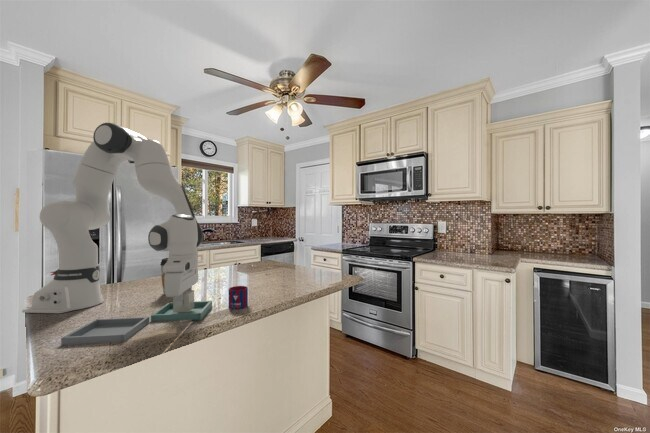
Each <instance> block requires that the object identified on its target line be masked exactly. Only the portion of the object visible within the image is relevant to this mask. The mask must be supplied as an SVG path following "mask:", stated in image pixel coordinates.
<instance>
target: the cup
mask: <svg viewBox="0 0 650 433" xmlns="http://www.w3.org/2000/svg"><path fill="white" fill-rule="evenodd" d="M248 291H249V289H248V286H245V285H235V286H231V287H229V288H228V309H231V310H242V309H245V308H248V306H249V304H248V301H249V300H248V299H249V298H248V295H249V294H248Z"/></svg>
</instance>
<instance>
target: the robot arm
mask: <svg viewBox="0 0 650 433" xmlns="http://www.w3.org/2000/svg"><path fill="white" fill-rule="evenodd" d="M92 139H93V140H92V142H91V143H90V145H89V146H88V147H87V149H86V150H85V152H84V153H83V156H82V158H81V160H80V161H79V165H78V166H77V169H76V171H75V173H74V176H73V179H72V185H73V187H74V188H75V191H76V192H75V193H76V195H75V200H61V201H55V202H51V203H48V204H46V205H45V206H44V207H42V209H41V210H40V212H39V220H40V222H41V224H42V226H44V227H45V228H46V229H47V230H49V231H50V233H51V234H52V236H53V238H54V240H55V244H56V245H57V250H58V251H57V252H58V267H59V268H58V269H57V270H55V271H51V272H50V276H53V278H52V279H53V280H51V281H49V282H47V283H46V284H45V285H44V286H42V287H41V288H39V289H37V290H36V292H34V294H33V296H32V299H31V304H30V305H28V306H25V307H24V308H22V310H21V312H22V313H26V314H27V313H28V314H29V313H30V314H31V313H32V314H37V313H38V314H63V313H67V312H71V311H77V310H82V309H87V308H92V307H94V306H97V305H100V304H102V303H103V302H104V298H103V295H102V290H101V287H100V274H101V272H100V265H99V247H98V245H97V243H95V242H94V241H93V239H92V237H91V234H90V231H91V230H98V229H99V228H102V227H105V226H106V225H107V224H108V223H109V222H110V220H111V211H110V209H109V206H108V202H109V201H108V200H109V194H110V190H111V188H112V185H113V183H114V180H115V177H116V174H117V173H118V169H119V166H120V165H121V164H122V163H123V162H126V161H127V162H128V163H129V164H134V168H135V173H136V174H135V175H136V179H137V181H138V184H139V185H140V186H141V188H143V189H144V190H145V191H146V192H148V193H150V194H153V195H156V196H158V197H160V198H162V199H165V200H166V201H168V202H170V204H172V206H173V208H174V210H175V212H176V214H172V215H171V216H170V217H169V219H168V220H166V221H165V222H162V223H160V224H156V225H154V226H153V227H152V228H150V230H149V232H148V236H147V238H148V244H149V246H150V248H152V249H153V250H154V251H156V252H168V258H169V259H168V260H167V262H166V263H165V265H164V266H163V272H166V273H165V276H164V286H165V294H166V295H165V296H166V297H167V298H173V297H175V299H176V306H182V305H183V304H184V300H183V298H182V296H183V292H185V291H186V290H193V286H194V285H196V284H197V283H198V282H199V267H198V266H199V263H198V262H199V261H198V260H199V252H198V249H197V248H198V247H199V246H200V245H201V244H202V242H203V240H204V231H203V230H202V227H201V226H200V224H199V223H198V220H197V219H196V218H197V217H196V216H195V213H194V210H193V208H192V205H191V202H190V200H189V198H188V195H187V193H186V190H185V188H184V187H183V186H182V184H180V183H179V182H178V180H177V179H176V178H175V176H174V174H173V171H172V170H171V165H170V160H169V158H168V155H167V153H166V150H165V148H164V145H163V144H162V143H160V142H159V141H158V140H155V139H149V138H148V137H145V136H144V135H142V134H140V133H138V132H136V131H134V130H131V129H129V128H126V127H124V126H121V125H119V124H116V123H113V122H103V123H100V124H99V125H98V126H97V127H96V128H95V129H94V132H93V138H92Z"/></svg>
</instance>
